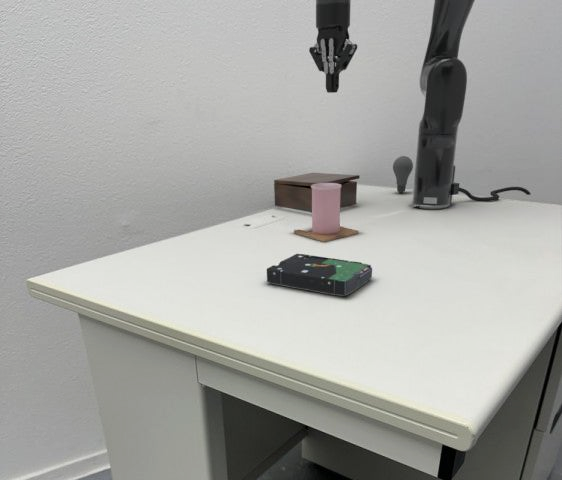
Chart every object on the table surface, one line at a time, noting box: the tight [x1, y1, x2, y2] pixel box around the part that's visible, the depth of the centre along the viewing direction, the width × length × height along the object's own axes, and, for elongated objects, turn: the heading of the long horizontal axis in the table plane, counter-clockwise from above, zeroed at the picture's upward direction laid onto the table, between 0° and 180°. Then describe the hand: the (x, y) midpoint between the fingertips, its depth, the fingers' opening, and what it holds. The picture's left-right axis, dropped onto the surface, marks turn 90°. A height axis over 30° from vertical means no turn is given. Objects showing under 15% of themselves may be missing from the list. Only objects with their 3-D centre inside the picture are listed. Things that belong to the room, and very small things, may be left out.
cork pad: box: [293, 226, 359, 243], centre depth 119 cm, size 10×10×1 cm
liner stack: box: [311, 183, 341, 234], centre depth 117 cm, size 6×6×10 cm
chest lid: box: [273, 172, 361, 186], centre depth 140 cm, size 16×15×1 cm
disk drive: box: [266, 253, 373, 297], centre depth 91 cm, size 10×3×15 cm
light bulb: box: [392, 155, 414, 194], centre depth 154 cm, size 6×6×10 cm
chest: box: [273, 180, 358, 213], centre depth 142 cm, size 16×15×6 cm
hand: (332, 92), depth 127 cm, fingers closed
